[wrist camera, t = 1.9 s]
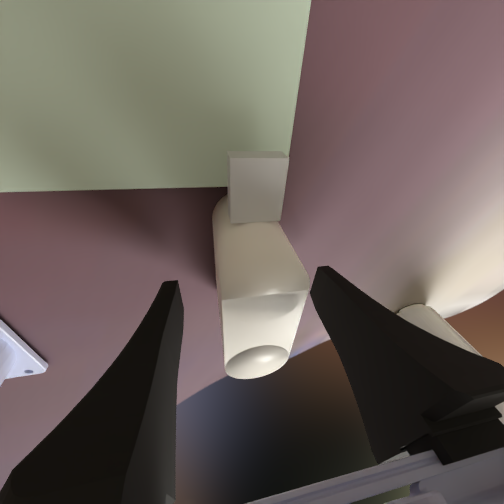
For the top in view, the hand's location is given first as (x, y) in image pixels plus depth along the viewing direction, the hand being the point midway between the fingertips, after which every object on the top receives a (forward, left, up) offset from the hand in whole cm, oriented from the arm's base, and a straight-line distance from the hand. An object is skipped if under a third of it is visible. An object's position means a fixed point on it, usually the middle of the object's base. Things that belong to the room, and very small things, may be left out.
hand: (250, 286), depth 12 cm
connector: (0, +1, -3) cm, 3 cm away
